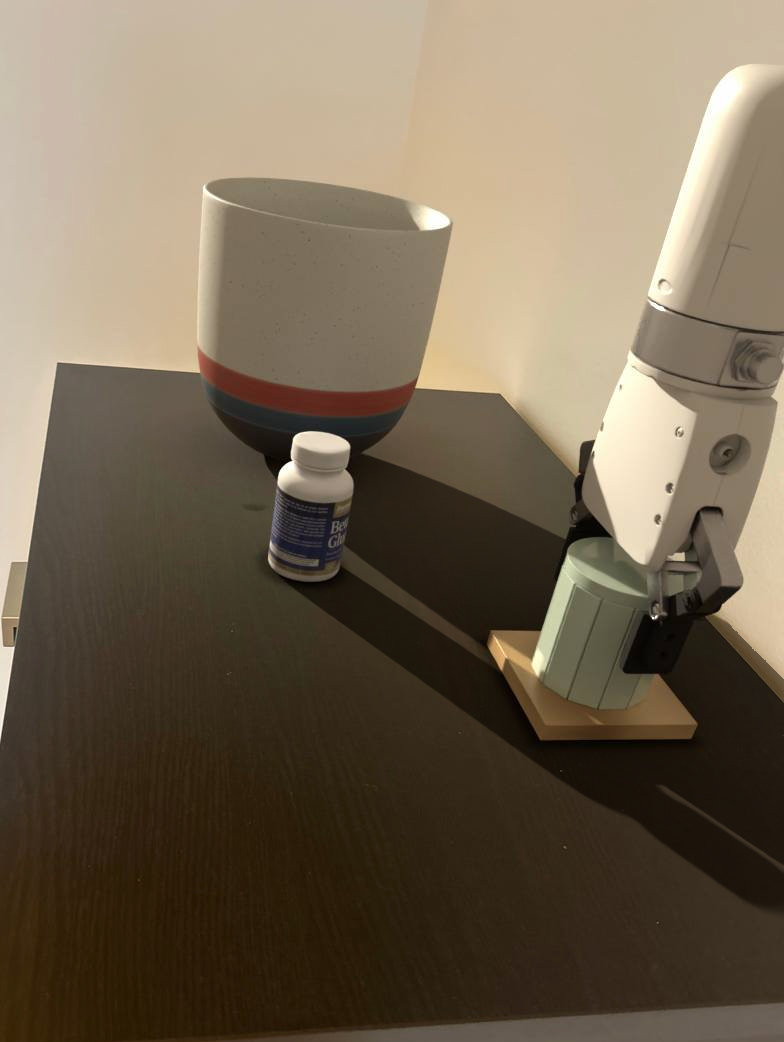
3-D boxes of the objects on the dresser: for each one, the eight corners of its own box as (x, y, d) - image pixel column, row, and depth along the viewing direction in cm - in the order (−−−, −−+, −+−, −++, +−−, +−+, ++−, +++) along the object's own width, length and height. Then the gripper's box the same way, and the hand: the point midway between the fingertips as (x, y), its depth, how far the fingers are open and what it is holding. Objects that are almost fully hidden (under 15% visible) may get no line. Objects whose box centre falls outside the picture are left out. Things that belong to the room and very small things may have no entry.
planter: (376, 415, 98) (415, 193, 86) (430, 502, 82) (487, 242, 70) (181, 403, 94) (194, 167, 82) (196, 492, 77) (215, 213, 66)
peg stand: (620, 646, 65) (653, 559, 62) (691, 739, 57) (734, 645, 54) (486, 644, 63) (511, 554, 60) (540, 740, 55) (574, 643, 51)
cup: (615, 643, 63) (654, 538, 59) (665, 709, 58) (713, 599, 53) (516, 642, 62) (549, 534, 57) (557, 710, 56) (597, 596, 52)
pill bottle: (334, 590, 67) (356, 463, 61) (260, 576, 67) (276, 448, 62) (343, 556, 71) (364, 435, 66) (274, 543, 72) (289, 421, 66)
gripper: (882, 413, 42) (737, 712, 51) (690, 307, 56) (604, 557, 65) (734, 402, 40) (612, 712, 50) (575, 296, 54) (504, 554, 64)
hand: (608, 624), depth 58 cm, fingers open, 9 cm apart
